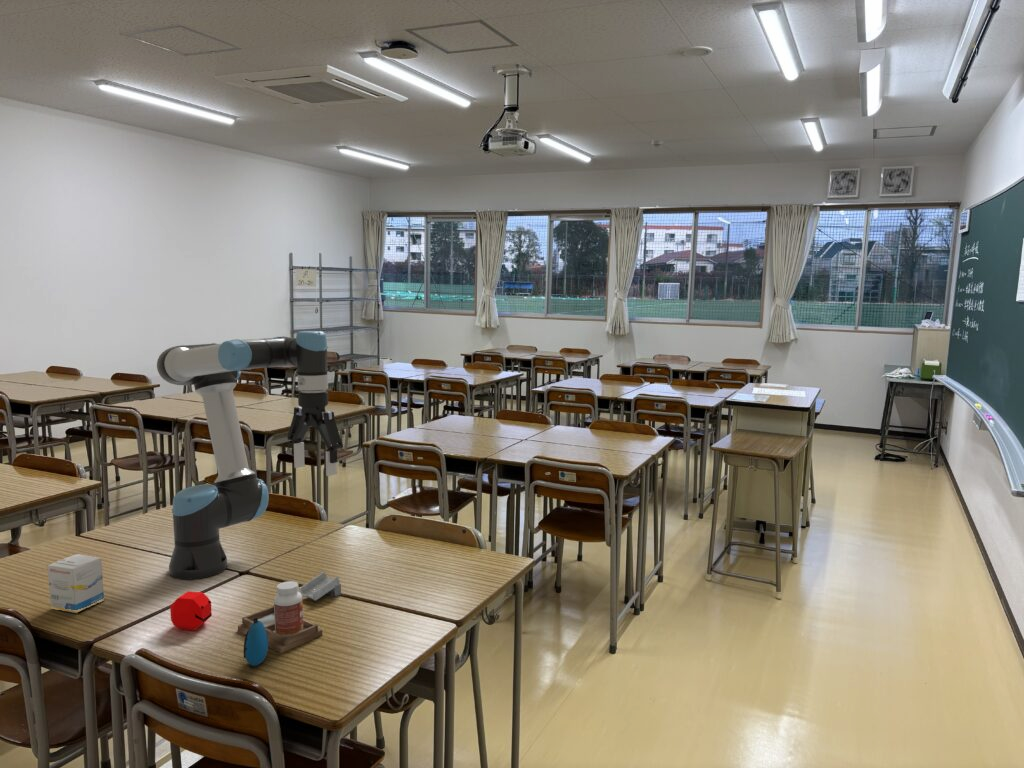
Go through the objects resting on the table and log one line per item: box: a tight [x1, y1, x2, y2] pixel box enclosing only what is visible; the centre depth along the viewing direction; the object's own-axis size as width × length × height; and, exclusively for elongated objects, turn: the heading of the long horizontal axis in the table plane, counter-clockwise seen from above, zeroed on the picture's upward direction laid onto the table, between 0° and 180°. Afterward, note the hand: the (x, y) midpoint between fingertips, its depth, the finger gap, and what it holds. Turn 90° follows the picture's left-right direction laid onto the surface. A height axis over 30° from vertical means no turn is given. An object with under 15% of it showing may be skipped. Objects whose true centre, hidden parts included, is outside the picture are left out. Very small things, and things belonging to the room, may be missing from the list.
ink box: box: [47, 553, 105, 610], centre depth 179 cm, size 9×8×12 cm
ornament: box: [243, 618, 269, 667], centre depth 151 cm, size 8×5×10 cm, turn 5°
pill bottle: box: [273, 580, 304, 637], centre depth 162 cm, size 6×6×11 cm
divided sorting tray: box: [237, 605, 323, 654], centre depth 165 cm, size 17×11×3 cm, turn 52°
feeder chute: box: [298, 571, 342, 601], centre depth 185 cm, size 6×8×5 cm
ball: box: [169, 591, 213, 631], centre depth 168 cm, size 8×8×8 cm
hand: (315, 470), depth 188 cm, fingers open, 13 cm apart
